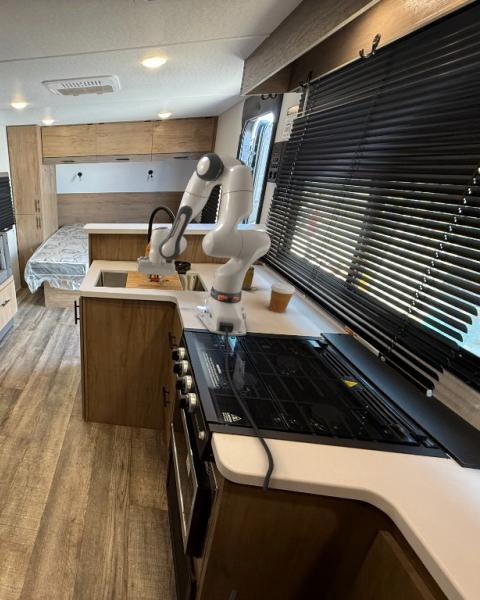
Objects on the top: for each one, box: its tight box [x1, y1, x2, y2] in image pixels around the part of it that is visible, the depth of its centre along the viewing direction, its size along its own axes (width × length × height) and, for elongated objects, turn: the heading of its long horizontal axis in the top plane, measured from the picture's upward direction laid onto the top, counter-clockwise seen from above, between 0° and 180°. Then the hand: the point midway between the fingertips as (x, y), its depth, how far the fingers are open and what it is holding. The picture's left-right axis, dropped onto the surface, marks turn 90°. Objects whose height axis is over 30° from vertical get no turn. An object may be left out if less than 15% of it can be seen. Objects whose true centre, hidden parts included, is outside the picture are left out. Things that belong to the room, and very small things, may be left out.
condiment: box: [241, 265, 257, 292], centre depth 167 cm, size 7×8×12 cm
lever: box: [150, 275, 161, 282], centre depth 170 cm, size 13×5×2 cm
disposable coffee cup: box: [268, 282, 296, 314], centre depth 141 cm, size 10×10×12 cm
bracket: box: [148, 274, 160, 283], centre depth 175 cm, size 11×9×14 cm
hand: (154, 281), depth 168 cm, fingers closed on lever, 5 cm apart
